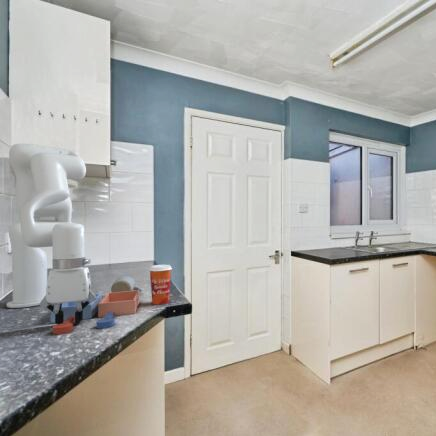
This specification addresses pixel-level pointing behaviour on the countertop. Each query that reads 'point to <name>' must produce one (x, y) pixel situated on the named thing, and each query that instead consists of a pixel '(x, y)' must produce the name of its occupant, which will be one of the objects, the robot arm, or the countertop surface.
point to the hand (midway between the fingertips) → (69, 324)
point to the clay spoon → (64, 326)
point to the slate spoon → (105, 321)
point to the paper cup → (160, 283)
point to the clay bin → (119, 303)
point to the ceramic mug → (124, 285)
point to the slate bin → (71, 308)
